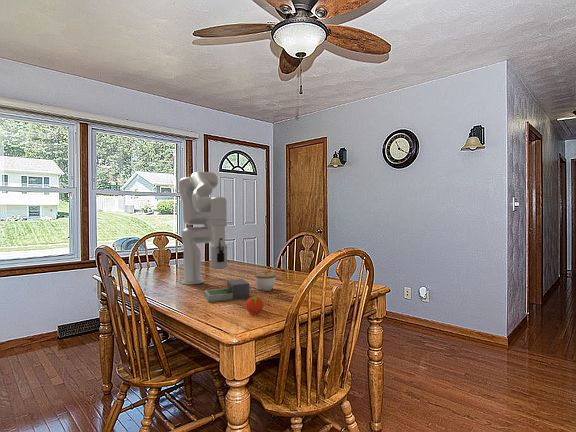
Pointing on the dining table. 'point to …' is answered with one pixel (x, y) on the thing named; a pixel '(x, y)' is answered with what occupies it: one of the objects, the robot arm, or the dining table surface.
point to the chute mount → (229, 291)
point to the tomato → (254, 305)
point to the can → (214, 258)
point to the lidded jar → (265, 281)
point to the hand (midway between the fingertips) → (218, 260)
